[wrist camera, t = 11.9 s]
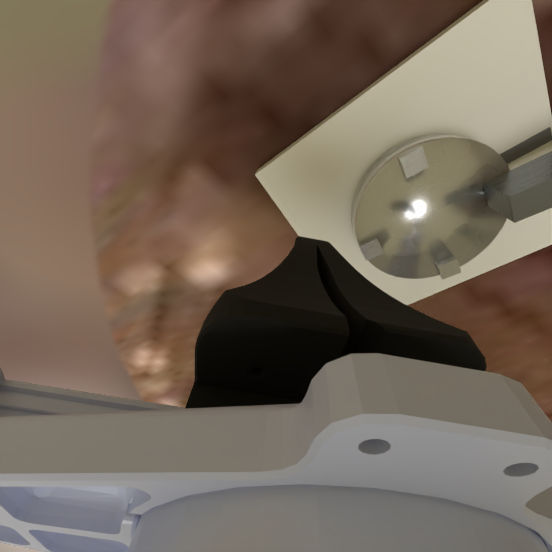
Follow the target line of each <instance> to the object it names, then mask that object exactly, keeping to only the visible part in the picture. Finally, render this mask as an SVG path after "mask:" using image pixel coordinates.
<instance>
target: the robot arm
mask: <svg viewBox="0 0 552 552" xmlns="http://www.w3.org/2000/svg"><path fill="white" fill-rule="evenodd" d="M0 543H5V544H9V545H14V546H20V547H24V548H29V549H34V550H38V551H43V552H552V422H551V421H550V420H549V418H548V417H547V416H546V415H545V413H544V412H543V411H542V409H541V408H540V407H539V405H538V404H537V403H536V402H535V400H534V399H533V398H532V396H531V395H530V394H529V392H528V391H527V390H526V388H525V387H524V386H523V385H522V383H520V382H518V381H515V380H513V379H511V378H508V377H506V376H503V375H501V374H497V373H492V372H486V362H485V357H484V356H483V355H482V353H481V352H480V350H479V349H478V347H477V346H476V344H475V343H474V341H473V340H472V338H471V337H470V336H469V334H468V333H467V332H466V331H463V330H461V329H458V328H456V327H453V326H451V325H448V324H446V323H443V322H441V321H438V320H436V319H433V318H431V317H429V316H427V315H425V314H423V313H421V312H419V311H417V310H415V309H413V308H411V307H409V306H407V305H405V304H403V303H402V302H400V301H398V300H397V299H395V298H393V297H392V296H390V295H388V294H387V293H385V292H384V291H382V290H381V289H379V288H378V287H377V286H375V285H374V284H373V283H371V282H370V281H369V280H367V279H366V278H365V277H364V276H363V275H362V274H360V273H359V272H358V271H357V270H356V269H355V268H354V267H353V266H352V265H351V264H350V263H349V262H348V261H347V260H346V259H345V258H344V257H343V256H342V255H341V254H340V253H339V252H338V251H337V250H336V249H335V248H334V247H333V245H332V244H330V243H329V242H328V241H323V240H317V239H312V238H306V237H301V236H299V237H297V238H296V241H295V245H294V247H293V249H292V250H291V252H290V253H289V255H288V256H287V257H286V258H285V259H284V260H283V262H282V263H281V264H280V265H279V266H278V267H276V268H275V269H274V270H273V271H272V272H270V273H269V274H267V275H266V276H264V277H263V278H261V279H259V280H257V281H255V282H253V283H250V284H248V285H245V286H241V287H237V288H234V289H230V290H226V291H225V292H224V293H223V294H222V295H221V297H220V298H219V299H218V301H217V302H216V303H215V305H214V306H213V308H212V309H211V311H210V313H209V314H208V316H207V318H206V319H205V321H204V323H203V326H202V328H201V331H200V333H199V335H198V338H197V342H196V347H195V382H194V385H193V388H192V391H191V394H190V396H189V399H188V402H187V405H186V408H183V407H177V406H170V405H164V404H158V403H151V402H145V401H139V400H132V399H126V398H120V397H113V396H107V395H101V394H94V393H88V392H82V391H75V390H69V389H63V388H56V387H50V386H43V385H37V384H30V383H25V382H18V381H12V380H6V379H5V378H4V374H3V372H2V370H1V368H0Z"/></svg>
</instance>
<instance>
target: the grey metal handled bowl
mask: <svg viewBox="0 0 552 552" xmlns="http://www.w3.org/2000/svg"><path fill="white" fill-rule="evenodd" d="M550 208H552V151H551V152H548V153H546V154H544V155H542V156H540V157H538V158H536V159H534V160H531V161H529V162H527V163H525V164H523V165H521V166H519V167H517V168H514V169H512V170H510V169H509V167H508V165H507V163H506V162H505V160H504V159H503V158H502V156H501V155H500V154H498V153H497V152H496V151H495V150H494V149H492V148H491V147H489V146H487V145H486V144H483V143H480V142H478V141H475V140H471V139H468V138H464V137H460V136H456V135H451V134H440V133H437V134H427V135H423V136H418V137H415V138H412V139H409V140H407V141H405V142H403V143H401V144H399V145H397V146H395V147H394V148H392V149H390V150H389V151H387V152H386V153H385V154H384V155H382V156H381V157H380V158H379V159H378V160H377V161H376V162H375V163H374V164H373V165H372V166H371V167H370V168H369V170H368V171H367V172H366V173H365V175H364V177H363V178H362V180H361V181H360V183H359V185H358V187H357V190H356V192H355V195H354V198H353V202H352V207H351V222H352V227H353V231H354V234H355V236H356V239H357V241H358V245H359V248H360V250H361V252H362V254H363V256H364V258H365V260H366V261H367V260H368V261H369V262H370V263H371V264H372V265H373V266H375V267H376V268H377V269H379V270H381V271H382V272H384V273H387V274H389V275H392V276H395V277H400V278H407V279H422V278H429V277H434V276H438V275H439V276H440V277H441V278H442V280H443V279H446V278H448V277H451V276H454V275H456V274H459V273H461V270H460V267H461V266H462V265H464V264H466V263H468V262H469V261H471V260H472V259H474V258H475V257H476V256H477V255H479V254H480V253H481V252H482V251H483V250H484V249H486V248H487V247H488V246H489V245H490V244H491V242H492V241H493V240H494V239H495V238H496V236H497V235H498V234H499V232H500V231H501V229H502V228H503V226H504V224H505V222H506V220H507V219H509V220H511V221H512V222H514V223H516V222H518V221H521V220H523V219H526V218H528V217H530V216H533V215H535V214H538V213H540V212H543V211H545V210H547V209H550Z"/></svg>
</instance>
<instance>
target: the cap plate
mask: <svg viewBox="0 0 552 552" xmlns="http://www.w3.org/2000/svg"><path fill="white" fill-rule="evenodd" d="M437 133H440V134H451V135H456V136H460V137H464V138H468V139H471V140H475V141H478V142H480V143H483V144H486V145H487V146H489V147H491V148H492V149H494V150H495V151H496V152H497V153H498V154H500V155H501V156H502V158H503V159H504V160H505V162H506V163H507V165H508V167H509V169H510V170H512V169H514V168H517V167H519V166H521V165H523V164H525V163H527V162H529V161H531V160H534V159H536V158H538V157H540V156H542V155H544V154H546V153H548V152H551V151H552V115H551V109H550V103H549V97H548V91H547V86H546V80H545V74H544V68H543V63H542V57H541V51H540V45H539V39H538V34H537V28H536V22H535V16H534V11H533V5H532V0H483V1H482V2H480V3H479V4H478V5H476V6H475V7H474V8H472V9H471V10H470V11H468V12H467V13H466V14H464V15H463V16H462V17H460V18H459V19H458V20H456V21H455V22H454V23H452V24H451V25H450V26H448V27H447V28H446V29H444V30H443V31H442V32H440V33H439V34H438V35H436V36H435V37H434V38H432V39H431V40H430V41H428V42H427V43H426V44H424V45H423V46H422V47H420V48H419V49H418V50H416V51H415V52H414V53H412V54H411V55H410V56H408V57H407V58H406V59H404V60H403V61H402V62H400V63H399V64H398V65H396V66H395V67H394V68H392V69H391V70H390V71H388V72H387V73H386V74H384V75H383V76H382V77H380V78H379V79H378V80H376V81H375V82H374V83H372V84H371V85H370V86H368V87H367V88H366V89H364V90H363V91H362V92H360V93H359V94H358V95H356V96H355V97H354V98H352V99H351V100H350V101H348V102H347V103H346V104H344V105H343V106H342V107H340V108H339V109H338V110H336V111H335V112H334V113H332V114H331V115H330V116H328V117H327V118H326V119H324V120H323V121H322V122H320V123H319V124H318V125H316V126H315V127H314V128H312V129H311V130H310V131H308V132H307V133H306V134H304V135H303V136H302V137H300V138H299V139H298V140H296V141H295V142H294V143H292V144H291V145H290V146H288V147H287V148H286V149H284V150H283V151H282V152H280V153H279V154H278V155H276V156H275V157H274V158H272V159H271V160H270V161H268V162H267V163H266V164H264V165H263V166H262V167H260V168H259V169H258V170H257V172H256V174H255V176H256V177H257V178H258V180H259V181H260V183H261V184H262V185H263V187H264V188H265V190H266V191H267V192H268V194H269V195H270V197H271V198H272V199H273V201H274V202H275V204H276V205H277V206H278V208H279V209H280V211H281V212H282V213H283V215H284V216H285V218H286V219H287V220H288V222H289V223H290V225H291V226H292V227H293V229H294V230H295V232H296V233H297V234H298V236H301V237H306V238H312V239H317V240H323V241H328V242H329V243H330V244H332V245H333V247H334V248H335V249H336V250H337V251H338V252H339V253H340V254H341V255H342V256H343V257H344V258H345V259H346V260H347V261H348V262H349V263H350V264H351V265H352V266H353V267H354V268H355V269H356V270H357V271H358V272H359V273H360V274H362V275H363V276H364V277H365V278H366V279H367V280H369V281H370V282H371V283H373V284H374V285H375V286H377V287H378V288H379V289H381V290H382V291H384V292H385V293H387V294H388V295H390V296H392V297H393V298H395V299H397V300H398V301H400V302H402V303H403V304H405V305H409V304H411V303H414V302H416V301H418V300H421V299H423V298H426V297H428V296H430V295H433V294H435V293H437V292H440V291H442V290H445V289H447V288H449V287H452V286H454V285H456V284H459V283H461V282H464V281H466V280H468V279H471V278H473V277H475V276H478V275H480V274H483V273H485V272H487V271H490V270H492V269H494V268H497V267H499V266H502V265H504V264H506V263H509V262H511V261H513V260H516V259H518V258H521V257H523V256H525V255H528V254H530V253H532V252H535V251H537V250H540V249H542V248H544V247H547V246H549V245H552V208H550V209H547V210H545V211H543V212H540V213H538V214H535V215H533V216H530V217H528V218H526V219H523V220H521V221H518V222H516V223H514V222H512V221H511V220H509V219H507V220H506V222H505V224H504V226H503V228H502V229H501V231H500V232H499V234H498V235H497V236H496V238H495V239H494V240H493V241H492V242H491V244H490V245H489V246H488V247H487V248H486V249H484V250H483V251H482V252H481V253H480V254H479V255H477V256H476V257H475V258H474V259H472V260H471V261H469V262H468V263H466V264H464V265H462V266H461V267H460V270H461V273H459V274H456V275H454V276H451V277H448V278H446V279H443V280H442V278H441V277H440V276H439V275H438V276H434V277H429V278H422V279H407V278H400V277H395V276H392V275H389V274H387V273H384V272H382V271H381V270H379V269H377V268H376V267H375V266H373V265H372V264H371V263H370V262H369V261H368V260H367V261H366V260H365V258H364V256H363V254H362V252H361V250H360V248H359V245H358V241H357V239H356V236H355V234H354V231H353V227H352V222H351V207H352V202H353V198H354V195H355V192H356V190H357V187H358V185H359V183H360V181H361V180H362V178H363V177H364V175H365V173H366V172H367V171H368V170H369V168H370V167H371V166H372V165H373V164H374V163H375V162H376V161H377V160H378V159H379V158H380V157H381V156H382V155H384V154H385V153H386V152H387V151H389V150H390V149H392V148H394V147H395V146H397V145H399V144H401V143H403V142H405V141H407V140H409V139H412V138H415V137H418V136H423V135H427V134H437Z"/></svg>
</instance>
